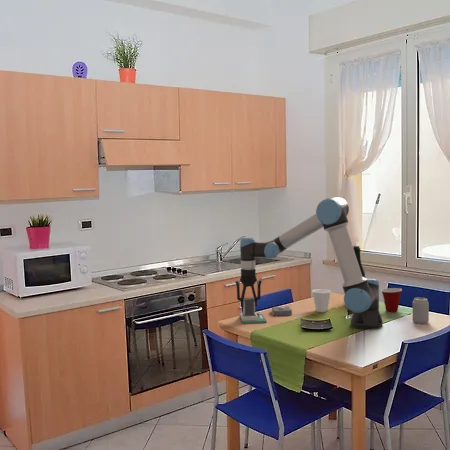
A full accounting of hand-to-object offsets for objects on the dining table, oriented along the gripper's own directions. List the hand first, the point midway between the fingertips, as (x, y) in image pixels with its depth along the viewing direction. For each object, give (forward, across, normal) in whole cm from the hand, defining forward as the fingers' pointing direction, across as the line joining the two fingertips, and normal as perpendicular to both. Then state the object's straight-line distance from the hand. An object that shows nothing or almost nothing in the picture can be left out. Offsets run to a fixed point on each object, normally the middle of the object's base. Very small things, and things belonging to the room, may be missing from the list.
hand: (249, 313), depth 278 cm
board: (+4, -2, -1) cm, 4 cm away
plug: (0, 0, 0) cm, 0 cm away
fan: (+4, -19, -11) cm, 22 cm away
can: (+4, -82, +18) cm, 85 cm away
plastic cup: (+4, -77, -5) cm, 77 cm away
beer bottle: (+4, -65, -26) cm, 70 cm away
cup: (+4, -41, -12) cm, 43 cm away
